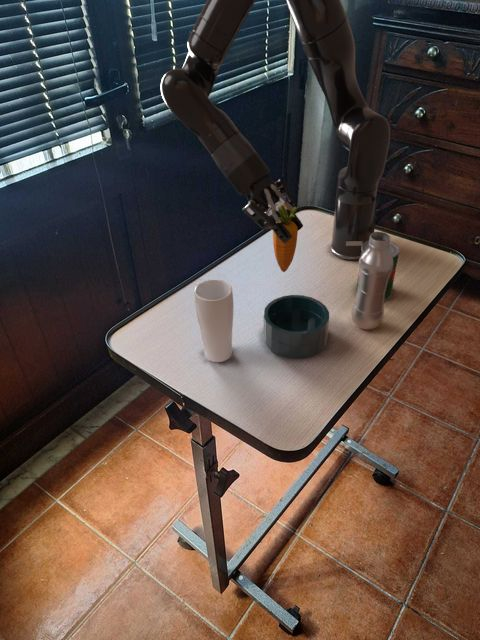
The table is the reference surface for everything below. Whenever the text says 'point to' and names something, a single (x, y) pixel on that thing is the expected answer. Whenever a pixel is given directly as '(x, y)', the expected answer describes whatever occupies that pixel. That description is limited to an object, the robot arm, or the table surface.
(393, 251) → the canned tomato
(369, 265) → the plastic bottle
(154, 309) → the table surface
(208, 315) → the drinking glass
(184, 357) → the table surface
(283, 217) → the carrot
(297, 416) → the table surface
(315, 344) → the pot
